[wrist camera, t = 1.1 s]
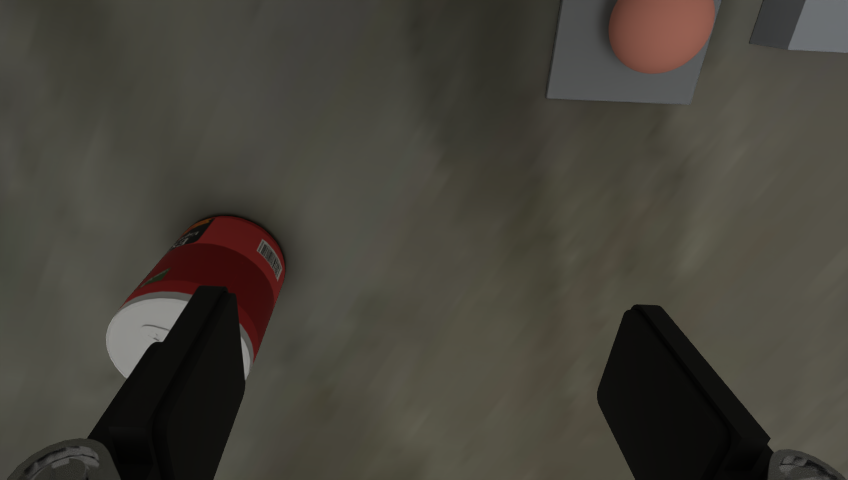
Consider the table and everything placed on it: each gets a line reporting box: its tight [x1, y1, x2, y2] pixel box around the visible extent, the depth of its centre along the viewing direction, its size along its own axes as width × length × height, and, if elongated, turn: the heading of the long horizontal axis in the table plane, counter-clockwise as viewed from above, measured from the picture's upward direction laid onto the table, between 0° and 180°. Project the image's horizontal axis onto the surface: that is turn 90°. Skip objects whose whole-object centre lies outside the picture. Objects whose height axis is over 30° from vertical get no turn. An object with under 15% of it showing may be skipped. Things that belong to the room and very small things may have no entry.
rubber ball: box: [609, 0, 715, 74], centre depth 28 cm, size 6×6×6 cm
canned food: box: [106, 216, 285, 380], centre depth 32 cm, size 8×8×11 cm
